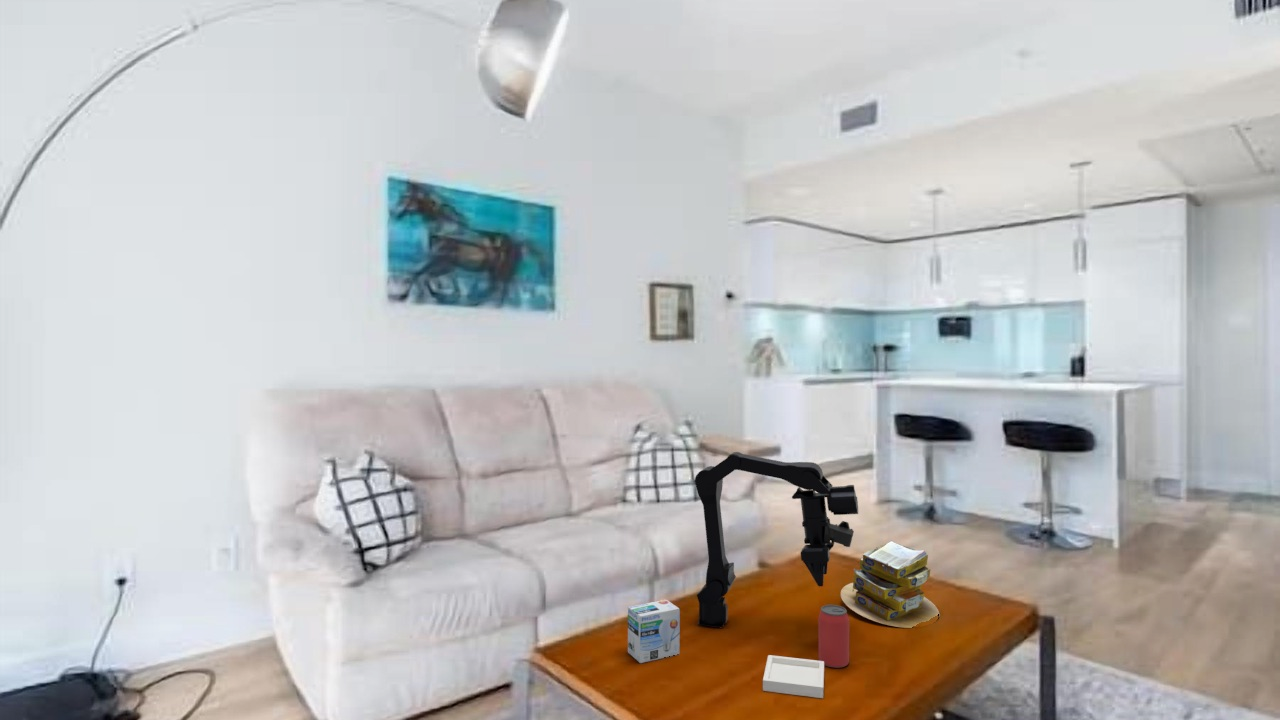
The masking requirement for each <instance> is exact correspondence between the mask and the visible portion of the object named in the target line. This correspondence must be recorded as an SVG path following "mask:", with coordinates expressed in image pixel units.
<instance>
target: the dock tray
mask: <svg viewBox="0 0 1280 720" xmlns="http://www.w3.org/2000/svg"><path fill="white" fill-rule="evenodd" d="M765 664H766V665H765V668H764V674H763V678H762V691H763V692H764V691H765V692H771V693H777V694H778V693H780V694H786V695H793V696H794V695H795V696H801V697H802V696H803V697H811V698H817V699H824V690H825V689H824V688H825V684H824V682H825V665H824V661H820V660H815V659H807V658H797V657H790V656H789V657H788V656H780V655H771V654H768V655H767V659H766V663H765Z"/></svg>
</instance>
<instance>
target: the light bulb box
mask: <svg viewBox="0 0 1280 720" xmlns="http://www.w3.org/2000/svg"><path fill="white" fill-rule="evenodd" d="M680 615H681V610H680V608H679V607H678V606H677V605H675V604H673V603H672V602H670V601H669V600H668V599H661V600H658V601H657V600H656V601H653V602H651V601H650V602H647V603H642V604H636V605H633V606H632V605H630V606H628V607H627V653H628V654H629V655H630V656H631V657H633V658H634V660H636V661H637V662H638V663H639V664H644V663H647V662H651V661H658V660H660V659H661V660H662V659H665V658H664V657H666V658H670V657H674V656H673V655H675V656H678V655H677V654H679V655H680V639H681V638H680V634H681V633H680V626H681V622H680V621H681V620H680V618H681V616H680ZM669 656H670V657H669Z"/></svg>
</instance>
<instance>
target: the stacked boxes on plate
mask: <svg viewBox="0 0 1280 720" xmlns="http://www.w3.org/2000/svg"><path fill="white" fill-rule="evenodd" d="M928 558H929V554H927V551H926V550H925V549H924V550H923V549H922V550H916V549H914V548H911V547H908V546H905V545H901V544H899V543H897V542H894V541H893V540H892V541H889V542H888V543H885V544H883V545H882V544H881V546H878V547H877V546H876V547H875V548H874V549H870V550H869V551H867V552H864V553H863V555H862V558H860V559H859V561H860V562H859V561H858V562H857V563H858V564H859V569H857V568H853V571H854V576H853V579H852V580H853V582H851V583H847V584H846V585H845V586H843V587H842V589H841V590H840V598H841V600H842V602H843V603H844V604H845V606H847V607H848V608H849V609H850V610H852V611H853V612H855V613H856V614H858V615H860V616H862V617H863V618H866V619H868V620H871V621H873V622H876V623H879V624H882V625H885V626H886V625H887V626H891V627H897V628H902V629H903V628H904V629H913V628H912V627H913V626H916V625H917V624H919V623H921V622H926V621H929V620H930V619H931V618H933V617H935V616H937V615H938V614H939V615H940V611H939V609H938V608H937V606H936V605H935V604H934V602H932V601H931V600H929V599H928V598H927V597H925V593H924V591H922V590H921V589H922V586H923V585H924V584H925V583H926V582H927V580H929V579H930V575H931V568H930V567H927V565H928Z"/></svg>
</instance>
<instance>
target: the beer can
mask: <svg viewBox="0 0 1280 720" xmlns="http://www.w3.org/2000/svg"><path fill="white" fill-rule="evenodd" d="M847 612H848V611H847V609H846V608H845V607H844V606H841V605H836V604H826V605H823V606H821V608H820V612H819V615H818V661H824V666H825V667H829V668H834V669H841V668H844V667H846V666H848V665H849V663H850V619H849V615H848V613H847Z"/></svg>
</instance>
